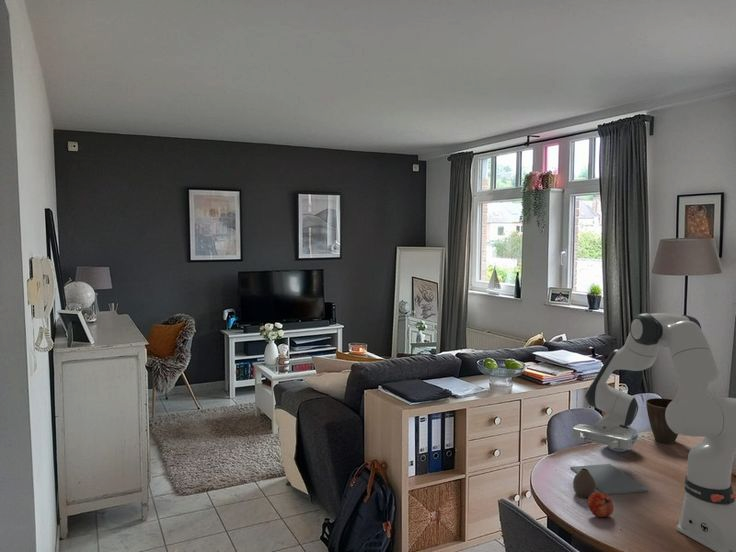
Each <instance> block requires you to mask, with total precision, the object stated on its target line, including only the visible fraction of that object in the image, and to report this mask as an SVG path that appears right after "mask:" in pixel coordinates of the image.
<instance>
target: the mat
mask: <svg viewBox="0 0 736 552" xmlns="http://www.w3.org/2000/svg"><path fill="white" fill-rule="evenodd" d="M582 468H585V469H588V470H589V473H590V474H591V476H592V477H593V479H594V481H595V489H596V488H597V490H598V492H601V493H603V494H606V495H608V496H610V495H619V494H631V493H632V494H633V493H641V492H644V491H645V492H648V491H649V489H648V488H647V487H645V486H644V485H642V484H641V483H639V482H638V481H636V480H635V479H633V478H631V477H630V476H628V475H627V474H626V473H624V472H623V471H622V470H619V469H618V468H617V467H616V466H613V464H611V463H605V464H603V463H602V464H591V465H589V464H588V465H577V466H576V465H575V466H570V469H571V470H572V471H573V470H574V471H575V472H574V471H573V472H574V473H576V474H577V473H579V471H580V470H581V469H582Z"/></svg>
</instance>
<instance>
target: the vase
mask: <svg viewBox="0 0 736 552" xmlns="http://www.w3.org/2000/svg"><path fill="white" fill-rule="evenodd" d="M573 477H574V478H573V481H572V486H573V490H574V493H575V494H576V495H577V496H578V497H580V498H583V499H588V498H589V497H590V495H591V494H592V493H595V491H596V488H595V481H594V479H593V477H592V476H591V474H590V473H589V470H588V469H585V468H582V469H581V470H580V471H579V473H578V474H577V473H576V475H575V476H573Z"/></svg>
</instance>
